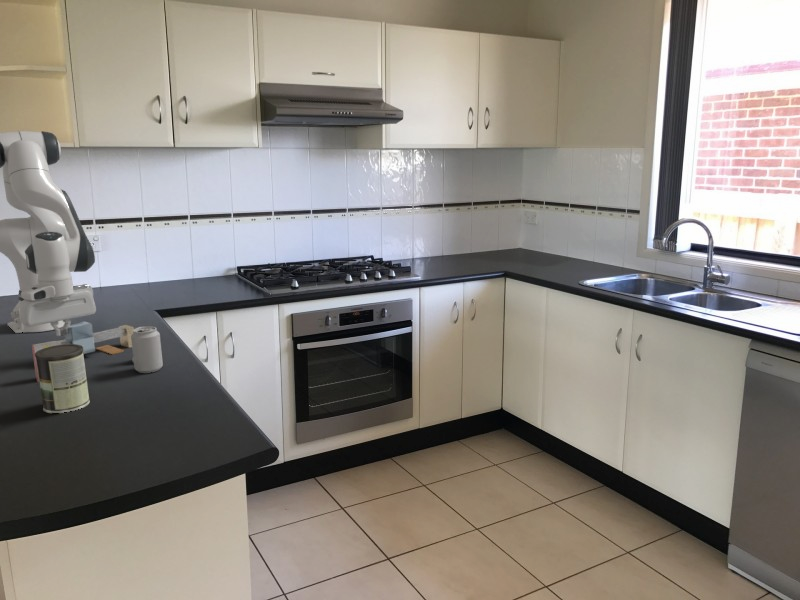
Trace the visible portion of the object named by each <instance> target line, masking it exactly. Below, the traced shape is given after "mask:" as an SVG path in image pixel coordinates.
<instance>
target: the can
mask: <svg viewBox="0 0 800 600" xmlns="http://www.w3.org/2000/svg"><path fill="white" fill-rule="evenodd" d="M139 327H140V328H138V327H135V328H134V330H133V332H134V333H133V334H132V335H131V341H132V347H131V348H132V349H131V351H132V359H134V363H133V366H134V370H135V371H136V372H138V373H140V374H149V373H150V374H151V372H152V373H155V372H158V371H160V370H161V368H162V367H163V365H164V363H163V354H162V343H161V334H160V332H159V331H158V330H157V327H156V326H139Z"/></svg>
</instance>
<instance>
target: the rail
mask: <svg viewBox="0 0 800 600" xmlns="http://www.w3.org/2000/svg"><path fill="white" fill-rule="evenodd" d="M134 329H135V327H134V326H131V325H128V324H123V325H119V326H118V327H114V328H110V329H105V330H102V331H97V332H93V337H94V344H95V343H99V342H103V341H104V342H105V341H108V340H112V339H117V338H119V343H120V346H122V347H126V348H132V341H131V335H132V334H133V333H134V332H133V330H134ZM54 341H55V340H51V341H49V342H54ZM59 341H60V345H64V344H72V340H69V339H65V338H64V339H61V340H59ZM47 342H48V341H46V342H45V343H47ZM95 350H98V351H100V352H103V353H106V354H108V353H109V354H108V355H111V354H112V355H116V354H120V353H123V352H125V350H124V349H123V348H122V349H121V348H118V347H116V346H112V345H109V344H105V345H101V346H98V347H95Z"/></svg>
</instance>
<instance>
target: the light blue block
mask: <svg viewBox="0 0 800 600" xmlns="http://www.w3.org/2000/svg"><path fill="white" fill-rule="evenodd" d="M63 326H64V325H63ZM93 333H94V330H93V324H92V323H90V322H87V321H78V322H73V323H72V322H71V323H70V326H69V328H68V334H67V335H64V339H69V340H72V344H76V345H81V346H83V355H86V354H90V353H95V352H96V349H95V348H96V346H95V343H94V337H93Z"/></svg>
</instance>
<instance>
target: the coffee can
mask: <svg viewBox="0 0 800 600" xmlns="http://www.w3.org/2000/svg"><path fill="white" fill-rule="evenodd" d="M84 355H85V354H83V346H81V345H76V344H64V345H56V346H51V347H47V348H44V349H41V350H39V351H37V352H36V353H35V357H36V361H37V367H38V374H39V381H40V382H39V387H40V393H41V401H42V410H43V412H45V413H48V414H52V413H59V414H65V413H64V412H67V413H71V412H70V411H72V412H75V410H76V411H78V409H79V410H82V409H83V408H85V407H87V406H88V405H89V404H90V402H91V401H90V396H89V387H88V386H89V385H88V380H87V374H86V371H87V370H86V364H85V357H84ZM81 408H82V409H81Z"/></svg>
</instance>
